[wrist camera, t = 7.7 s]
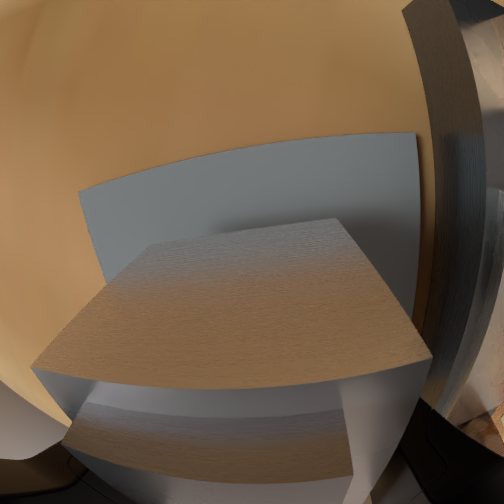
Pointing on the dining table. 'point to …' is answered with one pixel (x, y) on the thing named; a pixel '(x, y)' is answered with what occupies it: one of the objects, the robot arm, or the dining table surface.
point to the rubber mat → (272, 200)
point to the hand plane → (465, 209)
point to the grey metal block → (240, 371)
